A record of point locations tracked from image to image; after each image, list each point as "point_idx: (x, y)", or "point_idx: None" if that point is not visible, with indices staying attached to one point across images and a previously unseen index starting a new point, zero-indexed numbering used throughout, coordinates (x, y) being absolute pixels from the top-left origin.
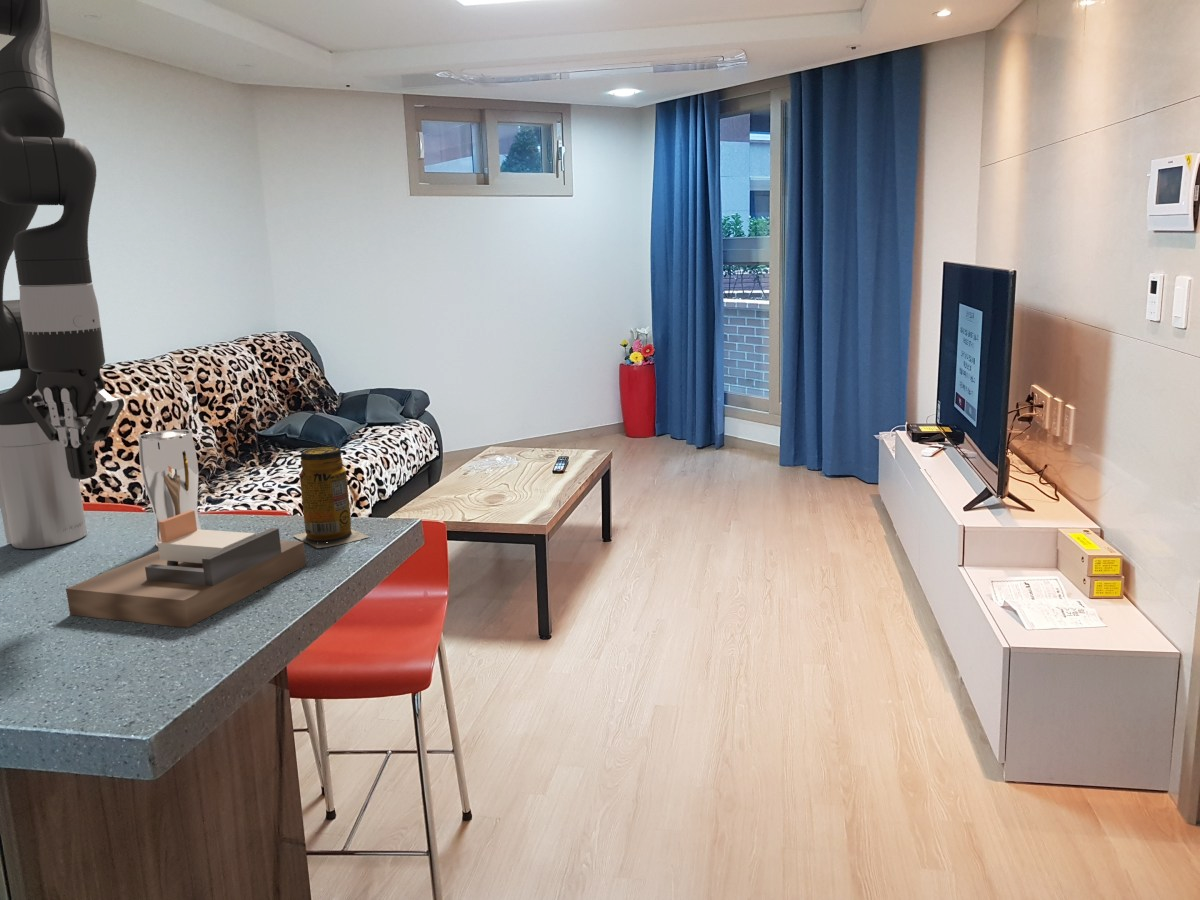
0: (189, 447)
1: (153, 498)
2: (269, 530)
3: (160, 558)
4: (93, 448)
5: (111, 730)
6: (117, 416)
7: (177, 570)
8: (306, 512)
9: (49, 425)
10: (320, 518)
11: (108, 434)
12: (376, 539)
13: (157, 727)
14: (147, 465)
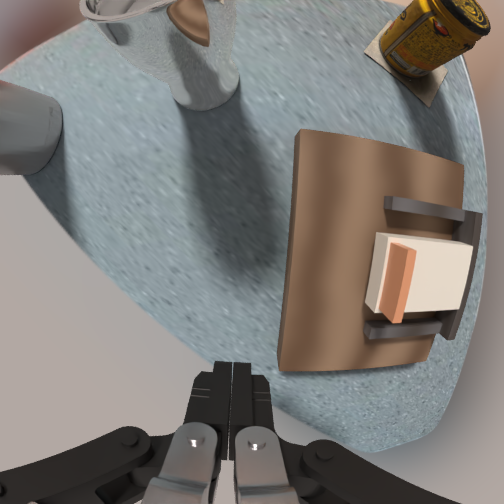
0: None
1: (173, 82)
2: (477, 223)
3: (366, 303)
4: (272, 427)
5: (417, 436)
6: (423, 491)
7: (411, 335)
8: (416, 57)
9: (133, 500)
10: (431, 68)
11: (347, 451)
12: (455, 78)
13: (435, 426)
14: (150, 57)
